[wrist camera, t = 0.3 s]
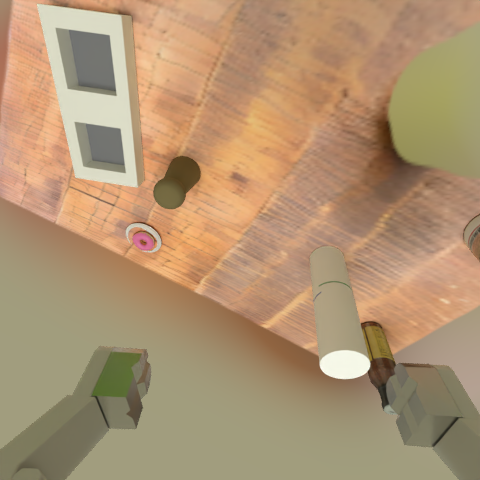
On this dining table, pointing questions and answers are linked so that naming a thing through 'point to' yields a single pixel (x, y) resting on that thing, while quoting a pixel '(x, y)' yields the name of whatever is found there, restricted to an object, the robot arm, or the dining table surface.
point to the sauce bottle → (379, 360)
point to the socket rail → (96, 91)
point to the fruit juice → (473, 236)
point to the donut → (144, 237)
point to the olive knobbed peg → (176, 182)
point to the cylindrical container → (336, 316)
